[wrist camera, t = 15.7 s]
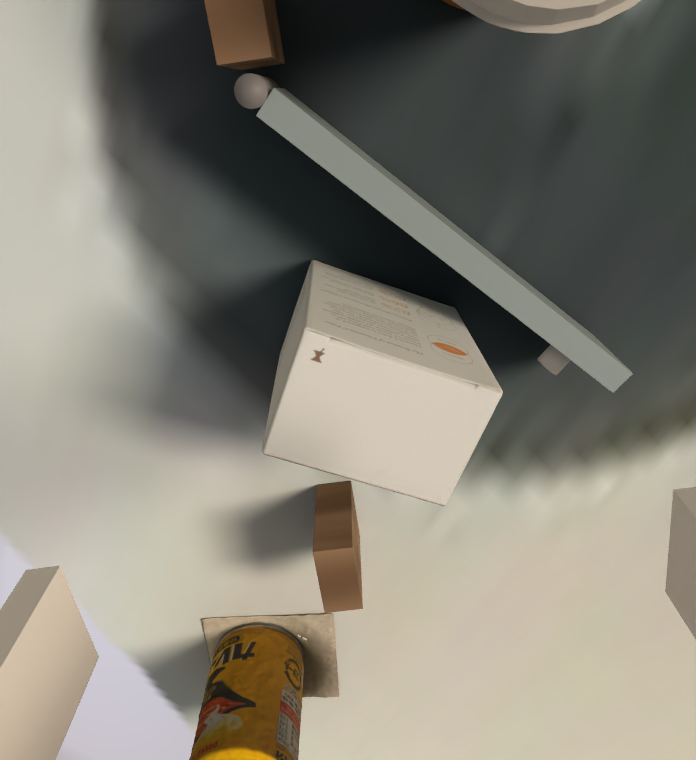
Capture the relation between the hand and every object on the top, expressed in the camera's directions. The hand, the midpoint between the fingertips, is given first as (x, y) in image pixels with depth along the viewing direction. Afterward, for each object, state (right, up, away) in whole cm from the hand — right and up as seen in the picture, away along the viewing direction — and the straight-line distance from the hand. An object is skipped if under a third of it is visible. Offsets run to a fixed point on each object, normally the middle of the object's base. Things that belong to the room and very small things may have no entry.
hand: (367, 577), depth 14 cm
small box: (+1, +7, +20) cm, 21 cm away
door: (+3, +12, +17) cm, 21 cm away
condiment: (-5, -14, +29) cm, 33 cm away
